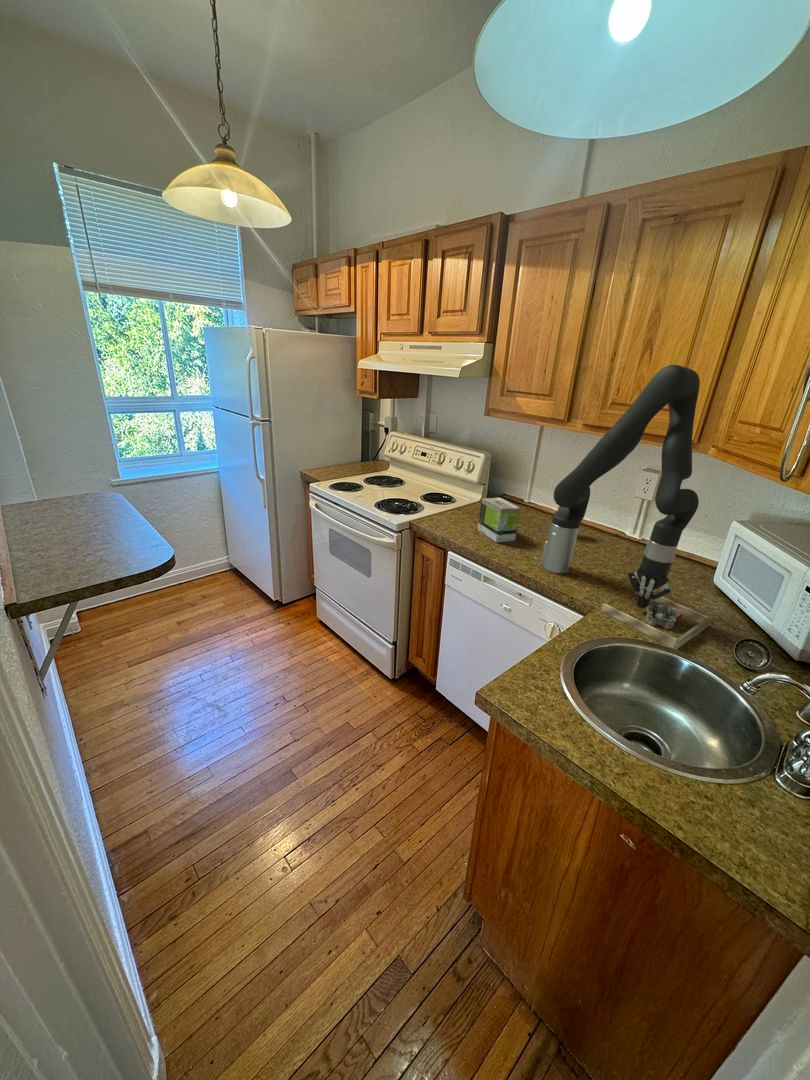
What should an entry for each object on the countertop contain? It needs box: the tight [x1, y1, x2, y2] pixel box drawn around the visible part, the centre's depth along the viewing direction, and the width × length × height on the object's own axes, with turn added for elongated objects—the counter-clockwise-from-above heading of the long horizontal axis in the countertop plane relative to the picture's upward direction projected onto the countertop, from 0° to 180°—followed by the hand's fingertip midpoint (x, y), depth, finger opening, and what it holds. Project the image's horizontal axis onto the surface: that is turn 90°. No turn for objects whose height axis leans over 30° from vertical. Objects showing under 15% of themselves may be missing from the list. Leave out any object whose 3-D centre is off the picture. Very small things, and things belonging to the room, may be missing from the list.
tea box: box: [477, 497, 522, 543], centre depth 177 cm, size 15×10×15 cm, turn 22°
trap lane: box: [600, 591, 713, 651], centre depth 125 cm, size 22×22×3 cm
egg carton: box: [645, 599, 677, 630], centre depth 125 cm, size 11×8×4 cm
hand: (641, 607), depth 128 cm, fingers closed
